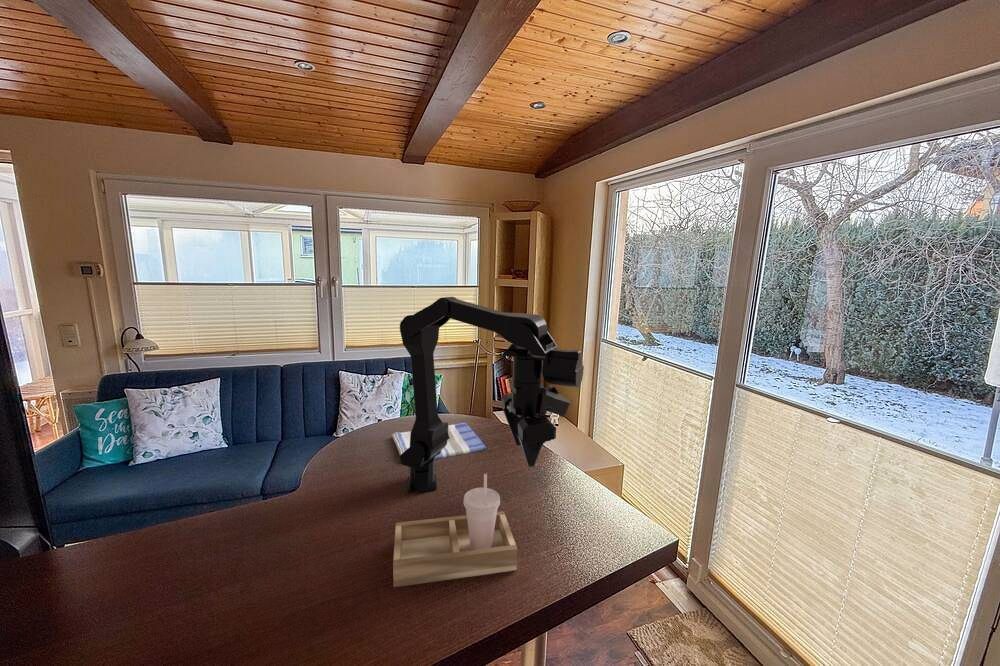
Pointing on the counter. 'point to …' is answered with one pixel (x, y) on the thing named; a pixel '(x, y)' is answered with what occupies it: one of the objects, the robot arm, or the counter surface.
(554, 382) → the robot arm
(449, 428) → the dish towel
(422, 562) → the tray
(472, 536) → the smoothie
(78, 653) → the counter surface
